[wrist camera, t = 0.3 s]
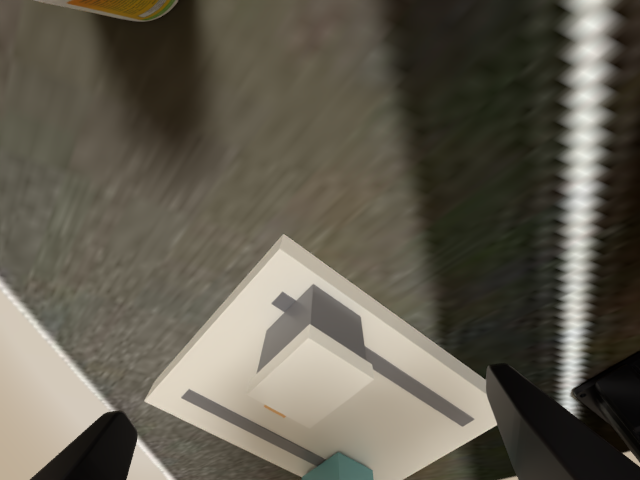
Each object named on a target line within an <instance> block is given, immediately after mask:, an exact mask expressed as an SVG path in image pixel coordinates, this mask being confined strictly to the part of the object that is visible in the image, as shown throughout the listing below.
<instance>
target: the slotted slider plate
mask: <svg viewBox="0 0 640 480" xmlns="http://www.w3.org/2000/svg"><path fill="white" fill-rule="evenodd" d="M312 284H314V285H316V286H317V287H319V288H320V289H322V290H323V291H324V292H326V293H327V294H329V295H330V296H332V297H333V298H335V299H336V300H337V301H339V302H340V303H342V304H343V305H345V306H346V307H347V308H349V309H350V310H352V311H353V312H355V313H356V314H358V315H359V316H360V317H361V322H362V330H363V338H364V345H365V353H366V361H368V362H369V363H371V364H372V367H373V373H374V380H373V381H372V382H370V383H369V384H368V385H366V386H365V387H364V388H362V389H361V390H360V391H358V392H357V393H356V394H355V395H353V396H352V397H351V398H349V399H348V400H347V401H345V402H344V403H343V404H341V405H340V406H339V407H337V408H336V409H335V410H334V411H332V412H331V413H330V414H328V415H327V416H326V417H324V418H323V419H322V420H320V421H319V422H318V423H316V424H315V425H314V426H312V427H311V428H310V429H309V428H307V427H306V426H304V425H302V424H300V423H298V422H296V421H294V420H293V419H291V418H289V417H287V416H285V415H283V414H281V413H280V412H278V411H276V410H274V409H272V408H270V407H268V406H267V405H265V404H263V403H261V402H259V401H257V400H255V399H254V398H252V397H250V396H248V395H247V391H248V387H249V383H250V380H251V379H252V378H253V377H254V376H255V375H256V374H257V369H258V365H259V361H260V356H261V352H262V348H263V343H264V339H265V334H266V331H267V330H268V329H269V328H270V327H271V325H272V324H273V323H274V322H275V321H276V320H277V319H278V318H279V317H280V316H281V315H282V314H283V313H284V312H285V311H286V310H287V309H288V308H289V307H290V306H291V305H292V304H293V303H294V302H295V301H296V300H297V299H298V298H299V297H300V296H301V295H302V294H303V293H304V292H305V291H306V290H307V289H308V288H309V287H310V286H311V285H312ZM144 401H145V402H147V403H149V404H151V405H153V406H155V407H157V408H159V409H161V410H164V411H166V412H168V413H170V414H172V415H174V416H176V417H178V418H180V419H182V420H184V421H186V422H188V423H190V424H192V425H195V426H197V427H199V428H201V429H203V430H205V431H207V432H209V433H211V434H213V435H215V436H217V437H219V438H221V439H224V440H226V441H228V442H230V443H232V444H234V445H236V446H238V447H240V448H242V449H244V450H246V451H248V452H250V453H252V454H255V455H257V456H259V457H261V458H263V459H265V460H267V461H269V462H271V463H273V464H275V465H277V466H279V467H281V468H283V469H286V470H288V471H290V472H292V473H294V474H296V475H298V476H300V477H303V476H304V475H306V474H307V473H309V472H310V471H311V470H313V469H314V468H316V467H317V466H319V465H320V464H322V463H323V462H325V461H326V460H327V459H329V458H330V457H332V456H333V455H335V454H336V453H338V452H339V453H341V454H343V455H345V456H347V457H349V458H350V459H352V460H354V461H356V462H358V463H360V464H362V465H364V466H366V467H367V468H369V469H371V470H373V479H374V480H403V479H405V478H407V477H408V476H410V475H412V474H414V473H415V472H417V471H419V470H420V469H422V468H424V467H426V466H427V465H429V464H431V463H432V462H434V461H436V460H438V459H439V458H441V457H443V456H444V455H446V454H448V453H450V452H451V451H453V450H455V449H456V448H458V447H460V446H462V445H463V444H465V443H467V442H468V441H470V440H472V439H474V438H475V437H477V436H479V435H481V434H482V433H484V432H486V431H487V430H489V429H491V428H493V427H494V426H496V425H497V422H496V420H495V417H494V414H493V411H492V409H491V406H490V403H489V401H488V397H487V393H486V380H485V379H484V378H482V377H481V376H480V375H478V374H477V373H475V372H474V371H473V370H471V369H470V368H469V367H467V366H466V365H464V364H463V363H462V362H460V361H459V360H457V359H456V358H455V357H453V356H452V355H451V354H449V353H448V352H446V351H445V350H444V349H442V348H441V347H439V346H438V345H437V344H435V343H434V342H433V341H431V340H430V339H428V338H427V337H426V336H424V335H423V334H422V333H420V332H419V331H417V330H416V329H415V328H413V327H412V326H410V325H409V324H408V323H406V322H405V321H404V320H402V319H401V318H399V317H398V316H397V315H395V314H394V313H392V312H391V311H390V310H388V309H387V308H386V307H384V306H383V305H381V304H380V303H379V302H377V301H376V300H374V299H373V298H372V297H370V296H369V295H368V294H366V293H365V292H363V291H362V290H361V289H359V288H358V287H357V286H355V285H354V284H352V283H351V282H350V281H348V280H347V279H345V278H344V277H343V276H341V275H340V274H339V273H337V272H336V271H334V270H333V269H332V268H330V267H329V266H327V265H326V264H325V263H323V262H322V261H321V260H319V259H318V258H316V257H315V256H314V255H312V254H311V253H310V252H308V251H307V250H305V249H304V248H303V247H301V246H300V245H298V244H297V243H296V242H294V241H293V240H292V239H290V238H289V237H287V236H286V235H285V234H283V235H282V236H281V237H280V238H279V239H278V241H277V242H276V243H275V244H274V245H273V246H272V248H271V249H270V250H269V251H268V252H267V253H266V254H265V256H264V257H263V258H262V259H261V260H260V261H259V262H258V264H257V265H256V266H255V267H254V268H253V269H252V270H251V272H250V273H249V274H248V275H247V276H246V277H245V278H244V280H243V281H242V282H241V283H240V284H239V285H238V286H237V288H236V289H235V290H234V291H233V292H232V293H231V294H230V296H229V297H228V298H227V299H226V300H225V301H224V302H223V304H222V305H221V306H220V307H219V308H218V309H217V310H216V312H215V313H214V314H213V315H212V316H211V317H210V318H209V320H208V321H207V322H206V323H205V324H204V325H203V326H202V328H201V329H200V330H199V331H198V332H197V333H196V334H195V336H194V337H193V338H192V339H191V340H190V341H189V342H188V344H187V345H186V346H185V347H184V348H183V349H182V350H181V352H180V353H179V354H178V355H177V356H176V357H175V358H174V360H173V361H172V362H171V363H170V364H169V365H168V366H167V368H166V369H165V370H164V371H163V372H162V373H161V374H160V376H159V377H158V378H157V379H156V380H155V382H154V384H153V386H152V387H151V389H150V391H149V393H148V395H147V397H146V399H145V400H144Z"/></svg>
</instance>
